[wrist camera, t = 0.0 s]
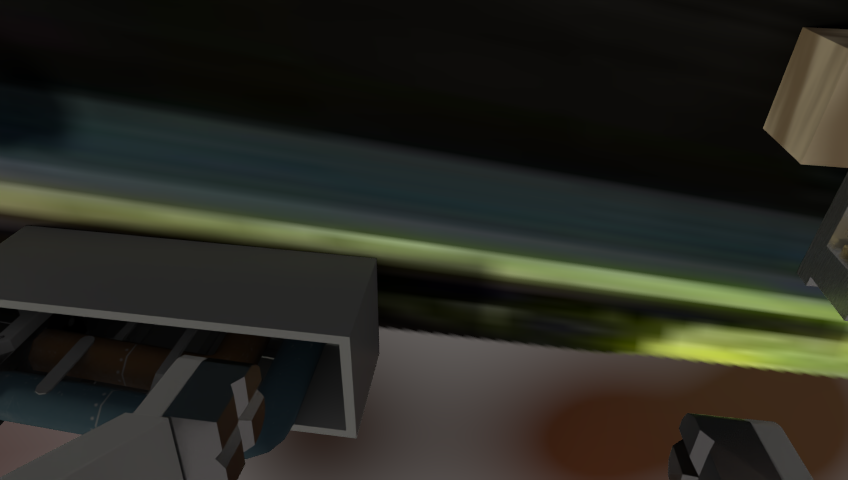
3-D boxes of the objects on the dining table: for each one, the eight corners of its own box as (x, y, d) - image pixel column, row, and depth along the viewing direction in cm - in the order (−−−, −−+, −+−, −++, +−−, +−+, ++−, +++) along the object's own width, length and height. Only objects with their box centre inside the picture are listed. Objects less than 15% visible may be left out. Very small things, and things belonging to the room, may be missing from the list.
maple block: (762, 128, 45) (801, 164, 39) (802, 27, 41) (852, 50, 35) (813, 131, 45) (859, 168, 39) (859, 29, 40) (918, 54, 34)
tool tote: (26, 225, 61) (-68, 292, 51) (376, 258, 57) (349, 337, 47) (68, 319, 69) (-6, 393, 59) (379, 353, 65) (356, 438, 55)
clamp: (357, 299, 61) (298, 469, 44) (354, 354, 66) (300, 526, 49) (61, 250, 63) (-112, 395, 45) (80, 307, 68) (-69, 457, 50)
